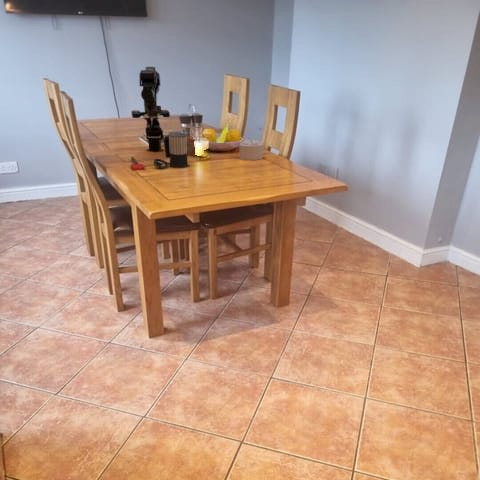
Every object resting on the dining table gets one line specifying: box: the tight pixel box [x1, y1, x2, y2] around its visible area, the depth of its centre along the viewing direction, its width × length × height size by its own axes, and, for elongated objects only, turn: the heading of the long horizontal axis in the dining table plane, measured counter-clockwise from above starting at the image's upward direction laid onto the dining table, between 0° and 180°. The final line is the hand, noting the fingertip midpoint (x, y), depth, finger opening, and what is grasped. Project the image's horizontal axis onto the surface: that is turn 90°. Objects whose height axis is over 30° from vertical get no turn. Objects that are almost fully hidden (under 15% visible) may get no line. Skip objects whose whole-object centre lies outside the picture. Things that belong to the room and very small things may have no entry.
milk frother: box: [153, 132, 189, 169], centre depth 219 cm, size 14×16×15 cm
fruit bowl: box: [201, 123, 245, 152], centre depth 257 cm, size 28×27×11 cm
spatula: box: [130, 156, 146, 171], centre depth 224 cm, size 21×6×1 cm, turn 19°
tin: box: [187, 137, 201, 158], centre depth 242 cm, size 15×3×8 cm, turn 47°
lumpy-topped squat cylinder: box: [238, 138, 265, 161], centre depth 240 cm, size 10×13×9 cm
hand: (151, 131), depth 234 cm, fingers closed
